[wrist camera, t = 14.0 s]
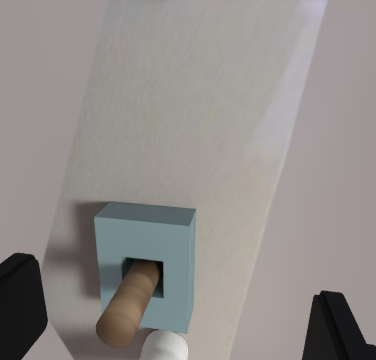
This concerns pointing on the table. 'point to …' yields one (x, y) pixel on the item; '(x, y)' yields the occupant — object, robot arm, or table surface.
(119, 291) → the peg
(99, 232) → the socket block
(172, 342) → the water bottle
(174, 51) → the table surface
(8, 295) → the robot arm
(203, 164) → the table surface
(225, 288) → the table surface
